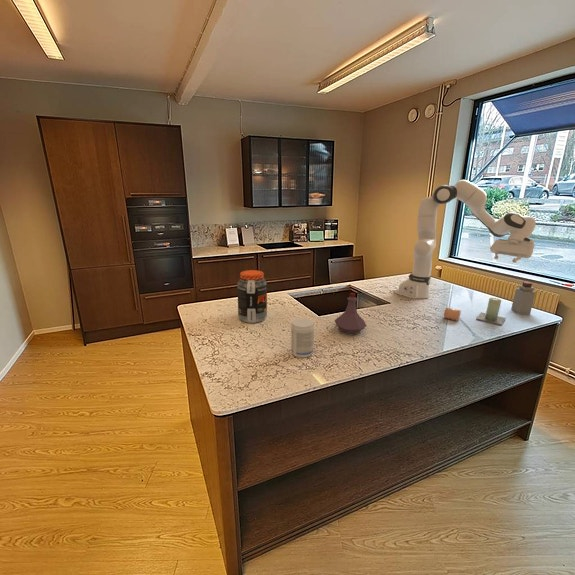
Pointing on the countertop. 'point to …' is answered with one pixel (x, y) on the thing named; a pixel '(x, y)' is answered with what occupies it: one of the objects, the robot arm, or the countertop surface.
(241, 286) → the supplement tub
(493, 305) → the pale green rounded cylinder
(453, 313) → the tan rounded cylinder
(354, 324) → the flask
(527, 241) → the robot arm
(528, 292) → the perfume bottle
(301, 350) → the supplement tub
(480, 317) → the plate
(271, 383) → the countertop surface
